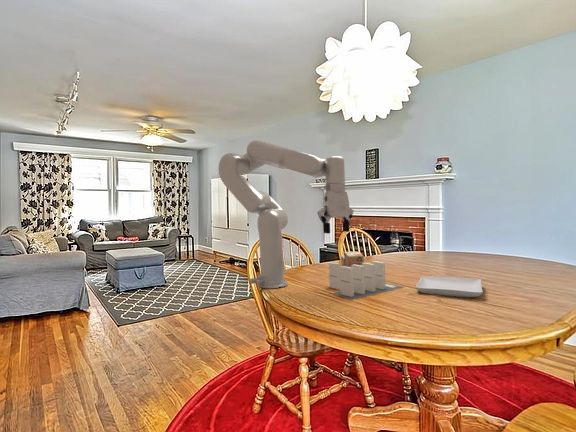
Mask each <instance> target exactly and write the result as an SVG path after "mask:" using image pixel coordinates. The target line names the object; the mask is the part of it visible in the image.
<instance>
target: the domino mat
mask: <svg viewBox="0 0 576 432" xmlns="http://www.w3.org/2000/svg"><path fill="white" fill-rule="evenodd" d="M385 287H386V289H379V288H375V291H374V292H371V291H368V290H365V294H359V293H355V292H354V296H352V297H350V296H346V295H343V294H341V290H340V291H337V292H331V293H330V294H331V295H335V296H338V297H341V298H344V299H345V298H346V299H347V300H348V299H349V300H351V301H353V300H357V299H361V298H366V297H370V296H373V295H379V294H382V293H386V292H387V293H388V292H391V291H394V290H399V289H402V288H405V286H402V285H397V284H393V283H388V282H385Z"/></svg>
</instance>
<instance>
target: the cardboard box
mask: <svg viewBox="0 0 576 432" xmlns="http://www.w3.org/2000/svg"><path fill="white" fill-rule="evenodd" d="M340 260H341V266H346V267H351V265H353V264H356V265H362V263H365V256H364V255H363V253H361V252H359V251H344V252H343V255H341V259H340Z"/></svg>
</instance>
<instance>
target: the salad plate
mask: <svg viewBox="0 0 576 432" xmlns="http://www.w3.org/2000/svg"><path fill="white" fill-rule="evenodd" d="M415 289H416V290H417V291H418V292H420V293H422V294H428V295H429V294H430V295H439V296H447V297H455V296H456V298H457V297H458V298H477V297H479V296H481V295H482V294H483V293H484V292H483V286H482V279H481V278H470V277H468V278H467V277H466V278H465V277H455V276H454V277H453V276H452V277H451V276H449V277H448V276H432V275H431V276H429V275H428V276H427V275H423V276H421V277H420V279H419V280H418V282H417V284H416V286H415Z"/></svg>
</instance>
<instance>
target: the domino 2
mask: <svg viewBox="0 0 576 432" xmlns="http://www.w3.org/2000/svg"><path fill="white" fill-rule="evenodd" d="M340 277H341V289H340V291H341V294H343V295H346V296H350V297H352V296H354V277H353V268H351V267H346V266H342V265H341V267H340Z"/></svg>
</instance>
